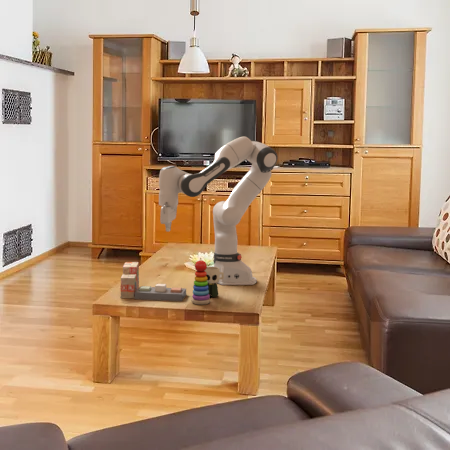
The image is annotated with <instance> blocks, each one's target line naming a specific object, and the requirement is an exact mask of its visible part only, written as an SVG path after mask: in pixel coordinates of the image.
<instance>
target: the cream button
mask: <svg viewBox="0 0 450 450" xmlns="http://www.w3.org/2000/svg"><path fill="white" fill-rule="evenodd" d="M154 287H155V292H166V288H167V283H156V284H155V286H154Z"/></svg>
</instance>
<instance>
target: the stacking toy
mask: <svg viewBox="0 0 450 450" xmlns="http://www.w3.org/2000/svg"><path fill="white" fill-rule="evenodd" d="M207 265H208V264H207V262H206V261H204V260H202V259H201V260H197V261H196V262H195V264H194V268H195V270H196V271H195V272H194V281H193V290H192V298H191V303H192V304H193V305H198V306H203V305H205V306H206V305H208V304H210V302H211V299H210V297H211V295H209V294H208V293H209V290H208V285H207V284H208V282H207V276H206V275H207V273H206V272H205V270H206V268H207V267H208V266H207Z"/></svg>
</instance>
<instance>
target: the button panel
mask: <svg viewBox="0 0 450 450" xmlns="http://www.w3.org/2000/svg"><path fill="white" fill-rule="evenodd" d="M181 288H182V292H181V293H176V292H171V289H172V287H166V292H155V286H153V287H152V286H151V290H150V291H140V287H139V288H138V290H137V291H136V292H135V297H134V300H148V301H149V300H150V301H168V302H169V301H173V302H183V300H184V299H185V298H186V296H187V288H185V287H184V288H183V287H181Z"/></svg>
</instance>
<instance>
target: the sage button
mask: <svg viewBox="0 0 450 450" xmlns="http://www.w3.org/2000/svg"><path fill="white" fill-rule="evenodd" d="M151 287H152V286H148V285H147V286H145V285H142V286H139V288H140V291H150V290H151Z"/></svg>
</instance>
